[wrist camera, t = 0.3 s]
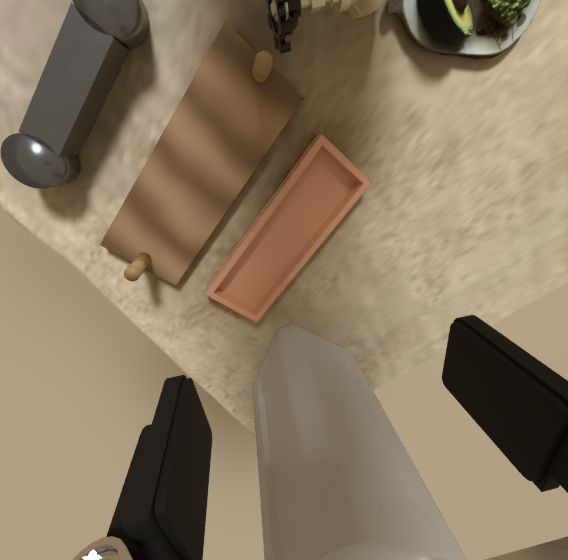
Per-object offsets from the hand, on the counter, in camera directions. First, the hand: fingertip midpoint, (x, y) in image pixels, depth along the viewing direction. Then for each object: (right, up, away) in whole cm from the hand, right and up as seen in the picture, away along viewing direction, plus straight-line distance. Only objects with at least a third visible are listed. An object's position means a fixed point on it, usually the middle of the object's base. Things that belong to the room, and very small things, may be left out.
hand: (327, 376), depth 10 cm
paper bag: (+1, -10, +39) cm, 40 cm away
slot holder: (-2, +10, +29) cm, 30 cm away
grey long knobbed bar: (-22, +23, +19) cm, 37 cm away
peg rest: (-12, +16, +24) cm, 31 cm away
